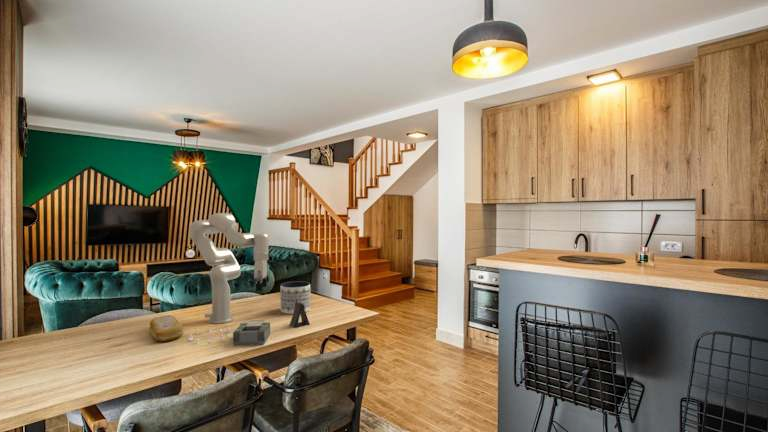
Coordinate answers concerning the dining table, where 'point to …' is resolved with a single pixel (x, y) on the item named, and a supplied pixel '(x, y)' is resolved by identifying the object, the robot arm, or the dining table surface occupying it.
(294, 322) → the dark grey a-shaped piece
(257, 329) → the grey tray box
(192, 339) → the game piece set
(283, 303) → the planter
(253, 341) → the block
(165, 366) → the dining table surface
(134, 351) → the dining table surface
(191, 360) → the dining table surface
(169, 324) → the bread
